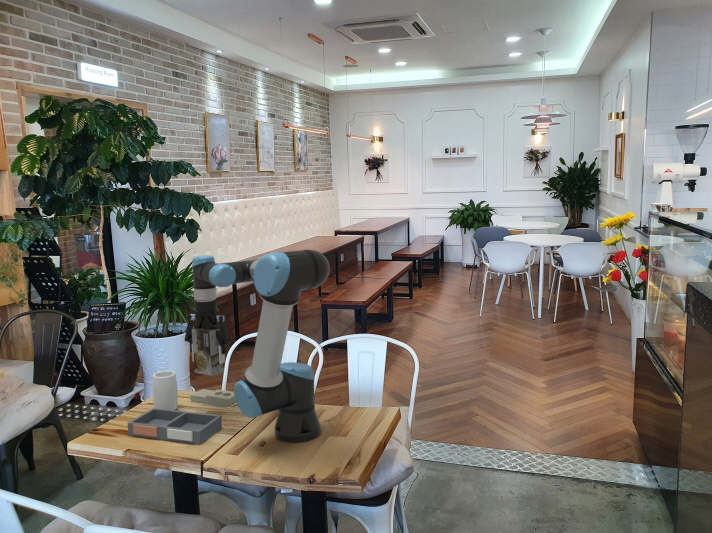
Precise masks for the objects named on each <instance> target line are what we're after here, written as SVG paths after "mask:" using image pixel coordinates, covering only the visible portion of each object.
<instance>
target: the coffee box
mask: <svg viewBox="0 0 712 533" xmlns="http://www.w3.org/2000/svg"><path fill="white" fill-rule="evenodd" d="M218 327H219V328H216V329H211V328H210V327H207V326H203V327H201V328H199V329H195V327H194V328H193V329H192V341H193V356H194V362H193V366H194V367H193V368H194V369H193V370H194V373H195V374H200V375H205V376H209V377H212V376H215V375H218V374H222V373H224V372H225V362H224V363H222V364H219V348H218V346H219V345H221V344H220V343H219V341H218V339H217V337H216V330H217V331H221V328H220V326H218Z"/></svg>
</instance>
